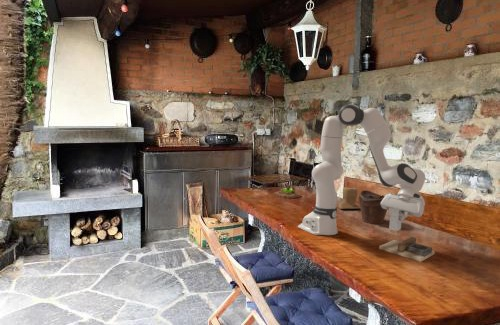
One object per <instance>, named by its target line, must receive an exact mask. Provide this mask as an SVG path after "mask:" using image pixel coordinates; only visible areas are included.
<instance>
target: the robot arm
mask: <svg viewBox="0 0 500 325" xmlns="http://www.w3.org/2000/svg"><path fill="white" fill-rule="evenodd" d="M355 125H360V126H361V127H362V128H363V129H364V131H365V134H366V137H367V138H368V142H369V146H368V147H369V151H370V154H371V157H372V159H373V162H374V165H375V167H376V170H377V173H378V174H377V175H378V178H379V181H380V183H381V184H382V185H383V186H384V187H387V188H392V187H394V186H396V185H400V189H399V191H398V192H397V194H396V193H392V192H390V193H386V194H385V195H384V196H385V197H384V198H383V200H382V201H381V203H380V204H381V207H382V208H383V209H387V211H388V212H389V214H388V218H389V219H390V215H391V209H393V208H397V209H401V210H403V213H402V216H400V217H399V220H401V221H402V222H403V221H404V219H406V218H408V217H409V216H412V217H416V218H420V217H422V216H423V213H424V212H425V206H426V201H425V199H424V197H423V195H421V194H419V193H420V192H421V190H422V189H423V187H424V184H425V180H426V175H425V172H424V171H423V170H422V169H420V168H416V167H412V166H410V165H409V164H407V163H405V162H401V163H399V164H398V163H397V164H396V165H393V166H390V165H389V163H388V161H387V159H386V156H385V153H384V150H385V147H386V145H387V144H388V142H389V141H390V139H391V136H392V134H391V133H392V132H391V129H390V126H389V125H388V124H387V121H386V119H385V118H384V116H383V115H382V114H381V112H380V111H379V110H378V109H377V108H375V107H369V108H366V109H361V108H360V107H359V106H358V105H356V104H353V103H348V104H345V105H343V106H342V107H341V108H340V109H339V110H338V114H337V115H330V116H328V117H326V118H325V119H324V122H323V125H322V128H321V129H322V130H321V138H320V147H319V150H320V153H321V157H322V158H321V159H322V160H321V161H322V162H321V163H320V162H319V163H318V164H317V165H315V166H314V167H313V169H312V170H311V177H312V179H313V181H314V185H315V190H316V191H315V192H316V194H315V195H316V198H315V205H313V206H311V208H312V211H311V212H310V213H308V214H306V215H305V216H304V217H303V219H302V222H301V223H300V224H298V226H297V228H299V229H300V230H303V231H305V232H307V233H310V234H312V235H314V236H315V235H316V236H317V235H321V236H322V235H323V236H333V235H334V236H335V235H336V234H337V235H338V233H339V231H338V226H337V213H338V206H337V202H338V201H337V200H338V192H337V190H336V188H335V187H336V186H335V181H337V180H339V179H340V178H341V176H342V175H343V173H344V167H343V164H342V163H343V162H342V145H343V144H342V143H343V134H344V129H345V127H347V126H348V127H349V126H351V127H352V126H355Z"/></svg>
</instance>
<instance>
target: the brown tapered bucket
mask: <svg viewBox="0 0 500 325" xmlns="http://www.w3.org/2000/svg"><path fill="white" fill-rule="evenodd" d="M384 197H385V195H381V194H378V193H375V192H374V191H373V192H372V191H370V190H362V191H360V193H359V196H358V197H357V201H358V203H359V207H360V208H359V209H360V214H361V220H362V221H363V222H365V223H368V224H372V225H373V224H374V225H375V224H376V225H377V224H378V225H381V224H383V223H384V221H385V217H386V215H387V212H388V210H387V209H383V208H382V207H381V204H380V203H381V201H382V200H383V198H384Z"/></svg>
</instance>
